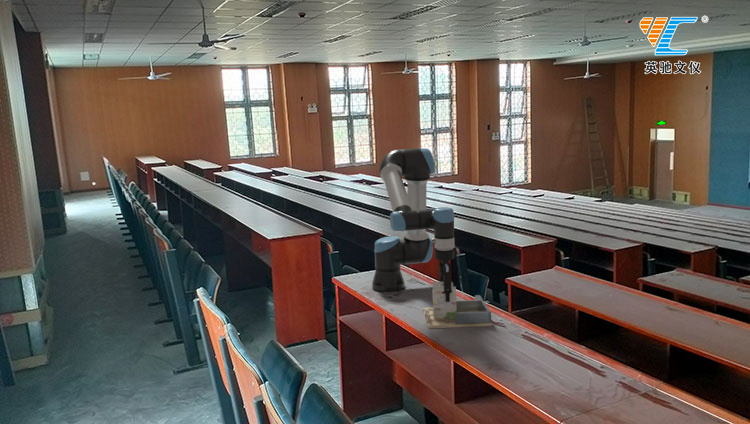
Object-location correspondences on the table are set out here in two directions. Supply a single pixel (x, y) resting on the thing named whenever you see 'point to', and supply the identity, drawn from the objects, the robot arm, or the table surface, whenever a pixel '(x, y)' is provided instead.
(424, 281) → the table surface
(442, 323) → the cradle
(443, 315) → the ink box
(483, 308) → the housing
